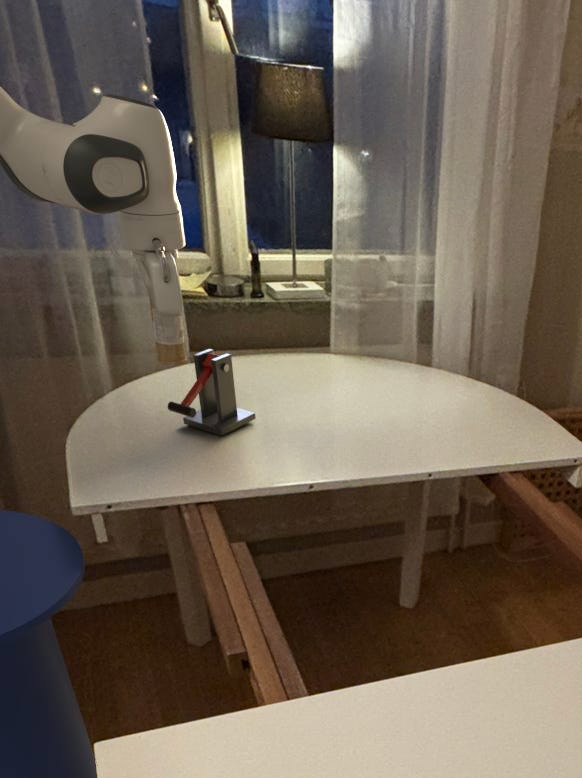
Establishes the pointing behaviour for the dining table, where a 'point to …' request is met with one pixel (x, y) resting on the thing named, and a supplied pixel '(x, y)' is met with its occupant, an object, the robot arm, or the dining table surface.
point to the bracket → (218, 398)
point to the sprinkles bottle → (167, 339)
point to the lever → (194, 390)
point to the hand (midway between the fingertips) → (167, 329)
